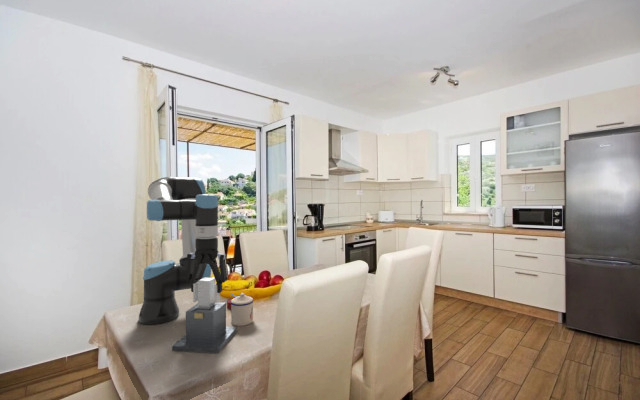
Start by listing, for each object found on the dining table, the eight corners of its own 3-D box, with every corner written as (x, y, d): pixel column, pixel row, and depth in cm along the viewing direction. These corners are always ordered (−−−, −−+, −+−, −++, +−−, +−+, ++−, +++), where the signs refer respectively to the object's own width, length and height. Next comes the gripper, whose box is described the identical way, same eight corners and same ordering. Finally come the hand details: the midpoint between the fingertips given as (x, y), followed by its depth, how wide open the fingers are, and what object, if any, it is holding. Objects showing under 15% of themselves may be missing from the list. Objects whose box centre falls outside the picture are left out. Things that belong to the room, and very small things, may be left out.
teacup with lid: (255, 323, 118) (255, 295, 118) (232, 328, 114) (232, 298, 114) (249, 313, 129) (249, 287, 129) (228, 316, 125) (228, 289, 125)
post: (197, 337, 102) (197, 280, 102) (203, 331, 106) (203, 277, 106) (209, 338, 102) (209, 281, 102) (215, 332, 106) (215, 277, 106)
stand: (172, 350, 97) (172, 314, 97) (197, 329, 113) (197, 298, 113) (217, 353, 95) (217, 317, 95) (236, 331, 111) (236, 300, 111)
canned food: (236, 311, 143) (242, 291, 147) (250, 314, 137) (256, 292, 141) (218, 307, 135) (225, 285, 139) (232, 309, 129) (239, 286, 134)
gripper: (174, 238, 101) (174, 303, 101) (229, 239, 99) (229, 306, 99) (186, 235, 109) (186, 296, 109) (237, 236, 107) (237, 298, 107)
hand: (206, 301), depth 104 cm, fingers open, 7 cm apart
